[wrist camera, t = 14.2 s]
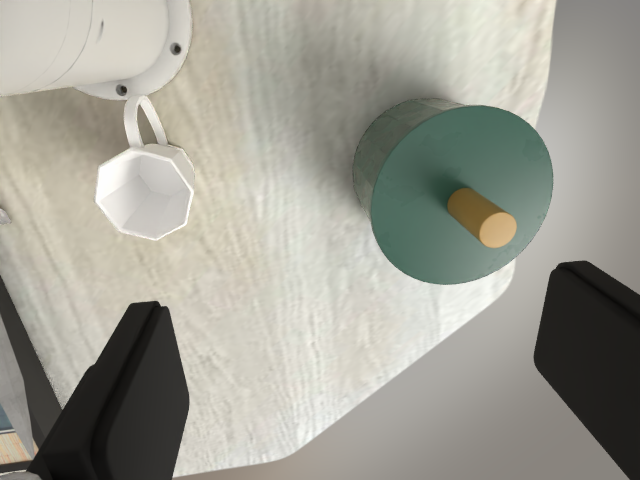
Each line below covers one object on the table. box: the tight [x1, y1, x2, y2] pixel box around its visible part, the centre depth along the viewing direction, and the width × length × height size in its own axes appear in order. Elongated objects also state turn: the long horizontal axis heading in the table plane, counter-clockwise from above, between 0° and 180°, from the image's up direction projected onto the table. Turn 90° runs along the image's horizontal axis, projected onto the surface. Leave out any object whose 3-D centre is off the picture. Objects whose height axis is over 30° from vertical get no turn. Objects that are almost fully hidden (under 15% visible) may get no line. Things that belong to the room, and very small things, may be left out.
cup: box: [94, 95, 195, 240], centre depth 33 cm, size 7×10×8 cm
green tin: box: [353, 98, 466, 219], centre depth 35 cm, size 13×13×10 cm
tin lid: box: [369, 105, 553, 285], centre depth 28 cm, size 14×14×6 cm
